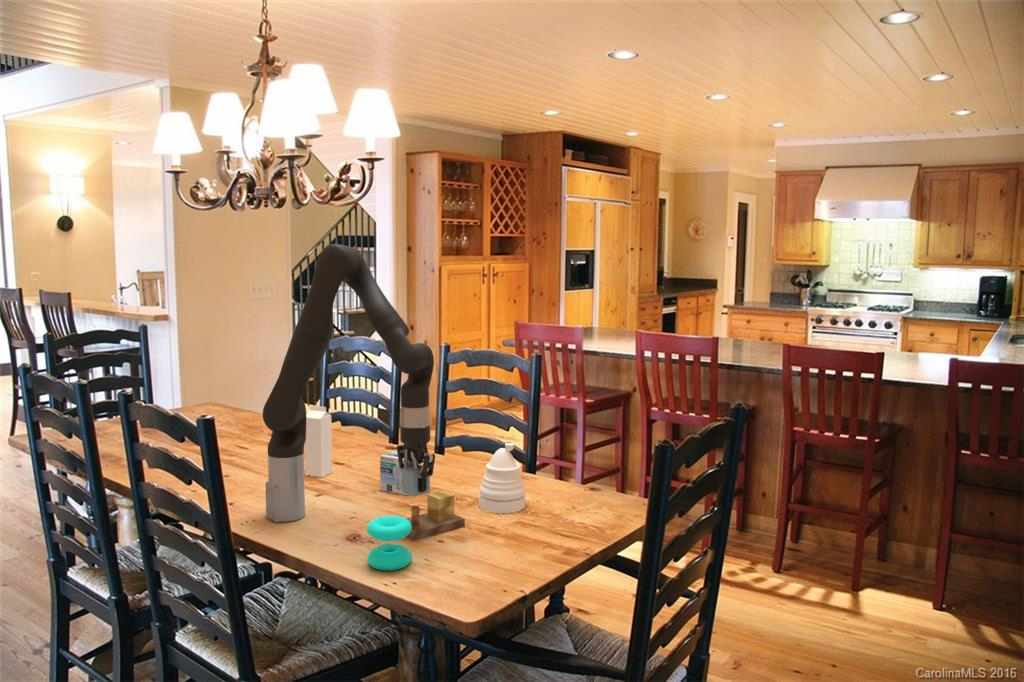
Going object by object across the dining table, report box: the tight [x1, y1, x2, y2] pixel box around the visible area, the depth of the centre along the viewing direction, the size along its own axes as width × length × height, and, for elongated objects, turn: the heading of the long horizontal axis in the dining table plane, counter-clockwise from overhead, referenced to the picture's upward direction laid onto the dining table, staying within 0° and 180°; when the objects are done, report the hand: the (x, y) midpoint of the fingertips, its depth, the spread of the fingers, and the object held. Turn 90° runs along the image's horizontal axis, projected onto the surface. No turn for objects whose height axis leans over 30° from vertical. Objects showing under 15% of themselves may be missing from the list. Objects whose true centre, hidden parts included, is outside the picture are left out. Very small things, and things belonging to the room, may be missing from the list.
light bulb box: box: [379, 450, 422, 496], centre depth 232 cm, size 11×7×11 cm, turn 62°
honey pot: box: [478, 442, 526, 514], centre depth 218 cm, size 13×13×18 cm
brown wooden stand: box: [405, 490, 466, 542], centre depth 201 cm, size 16×10×8 cm, turn 131°
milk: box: [304, 405, 333, 478], centre depth 246 cm, size 6×6×22 cm
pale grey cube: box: [402, 467, 431, 497], centre depth 198 cm, size 5×5×6 cm
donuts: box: [366, 515, 413, 572], centre depth 178 cm, size 10×10×10 cm
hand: (415, 488), depth 198 cm, fingers closed on pale grey cube, 5 cm apart
